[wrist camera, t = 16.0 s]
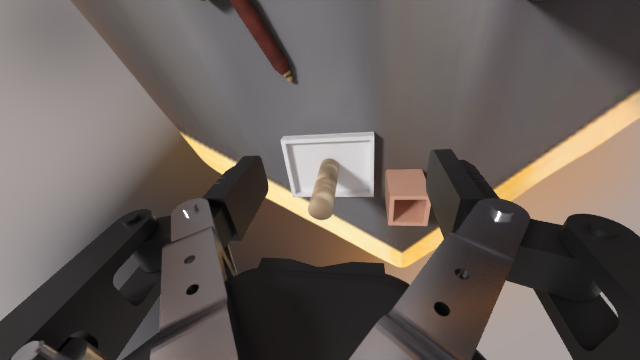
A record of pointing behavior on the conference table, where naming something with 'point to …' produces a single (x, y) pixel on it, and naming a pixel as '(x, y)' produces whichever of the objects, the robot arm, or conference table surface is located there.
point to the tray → (342, 147)
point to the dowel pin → (324, 190)
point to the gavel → (262, 36)
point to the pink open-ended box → (406, 197)
